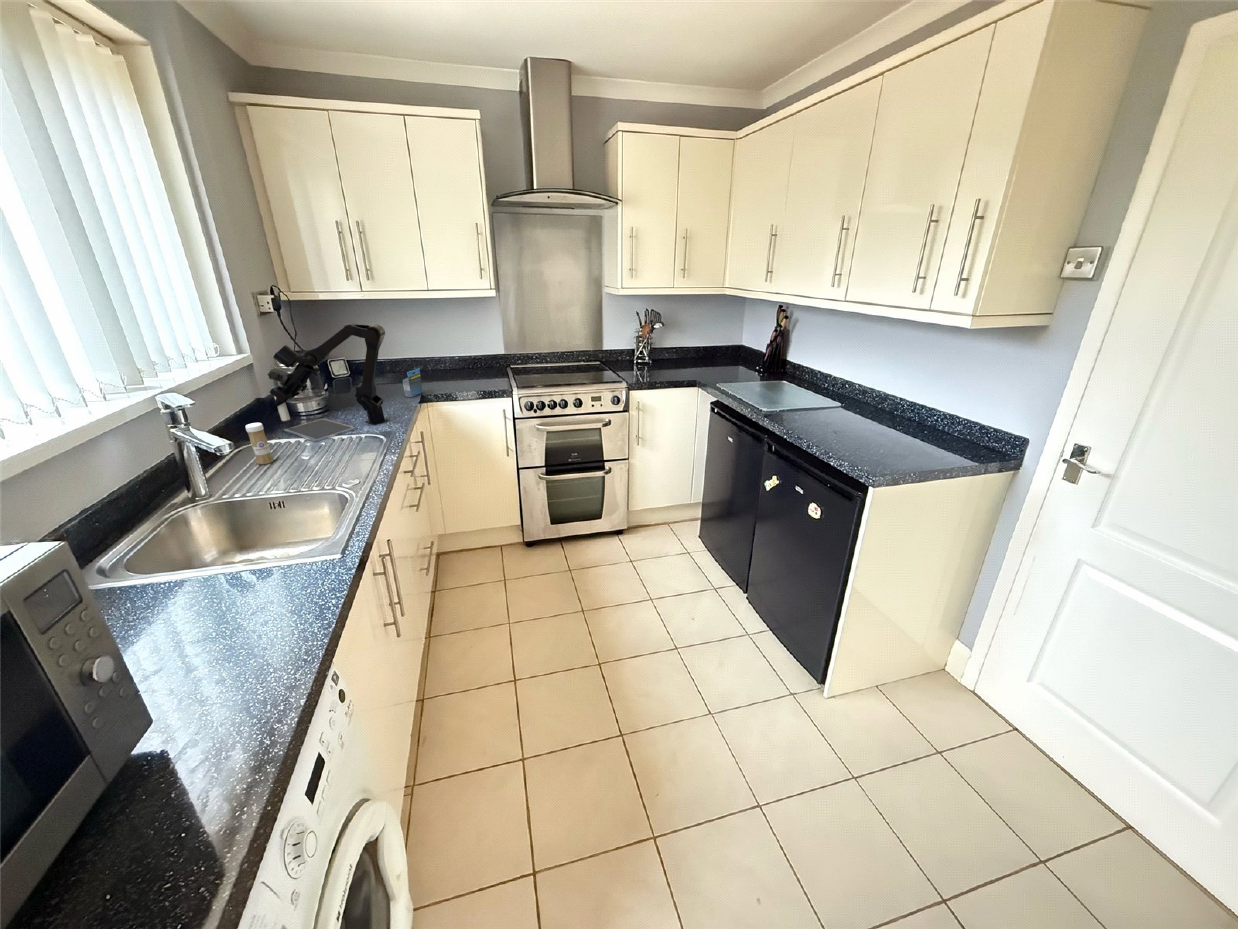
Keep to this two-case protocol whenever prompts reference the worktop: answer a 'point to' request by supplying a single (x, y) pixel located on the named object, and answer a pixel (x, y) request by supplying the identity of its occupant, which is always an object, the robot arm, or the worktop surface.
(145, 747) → the worktop surface
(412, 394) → the label tape box
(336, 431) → the tablet
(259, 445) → the sprinkles bottle
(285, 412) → the marker
